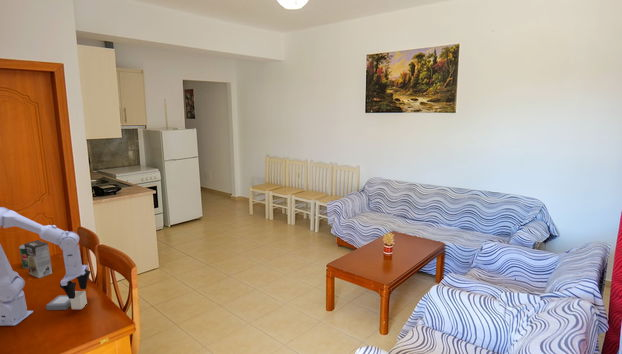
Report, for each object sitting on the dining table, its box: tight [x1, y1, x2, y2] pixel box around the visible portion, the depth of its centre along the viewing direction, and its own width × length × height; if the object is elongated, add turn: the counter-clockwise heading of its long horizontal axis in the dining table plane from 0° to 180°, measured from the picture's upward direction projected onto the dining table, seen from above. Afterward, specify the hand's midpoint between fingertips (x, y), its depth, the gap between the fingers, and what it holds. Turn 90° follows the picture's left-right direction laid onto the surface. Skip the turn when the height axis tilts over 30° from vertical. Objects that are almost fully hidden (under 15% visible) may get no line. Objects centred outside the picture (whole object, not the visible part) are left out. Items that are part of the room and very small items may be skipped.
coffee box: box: [23, 239, 53, 279], centre depth 181 cm, size 9×6×16 cm
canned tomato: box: [18, 244, 29, 269], centre depth 192 cm, size 8×8×11 cm
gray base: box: [45, 294, 71, 311], centre depth 155 cm, size 8×8×2 cm
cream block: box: [70, 290, 88, 310], centre depth 153 cm, size 4×4×6 cm
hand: (77, 293), depth 152 cm, fingers open, 7 cm apart
